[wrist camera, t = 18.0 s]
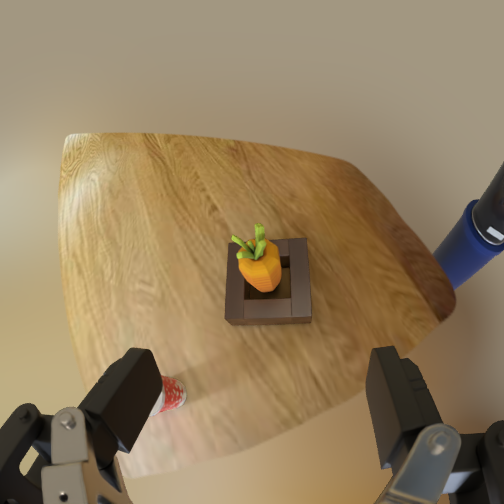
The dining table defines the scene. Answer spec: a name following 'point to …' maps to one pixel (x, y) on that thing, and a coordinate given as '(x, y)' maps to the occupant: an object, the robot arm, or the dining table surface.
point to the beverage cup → (170, 396)
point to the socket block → (270, 310)
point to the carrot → (259, 261)
